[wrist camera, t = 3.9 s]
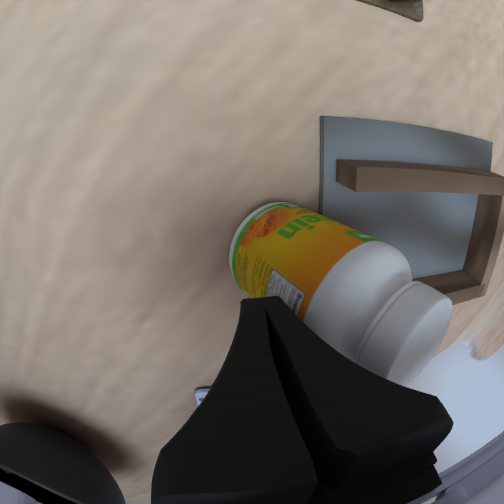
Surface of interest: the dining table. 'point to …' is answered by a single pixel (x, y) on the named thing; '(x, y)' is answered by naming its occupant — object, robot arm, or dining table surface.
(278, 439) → the robot arm
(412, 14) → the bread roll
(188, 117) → the dining table surface
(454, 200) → the cradle
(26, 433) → the bowl of black rocks
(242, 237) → the supplement bottle
